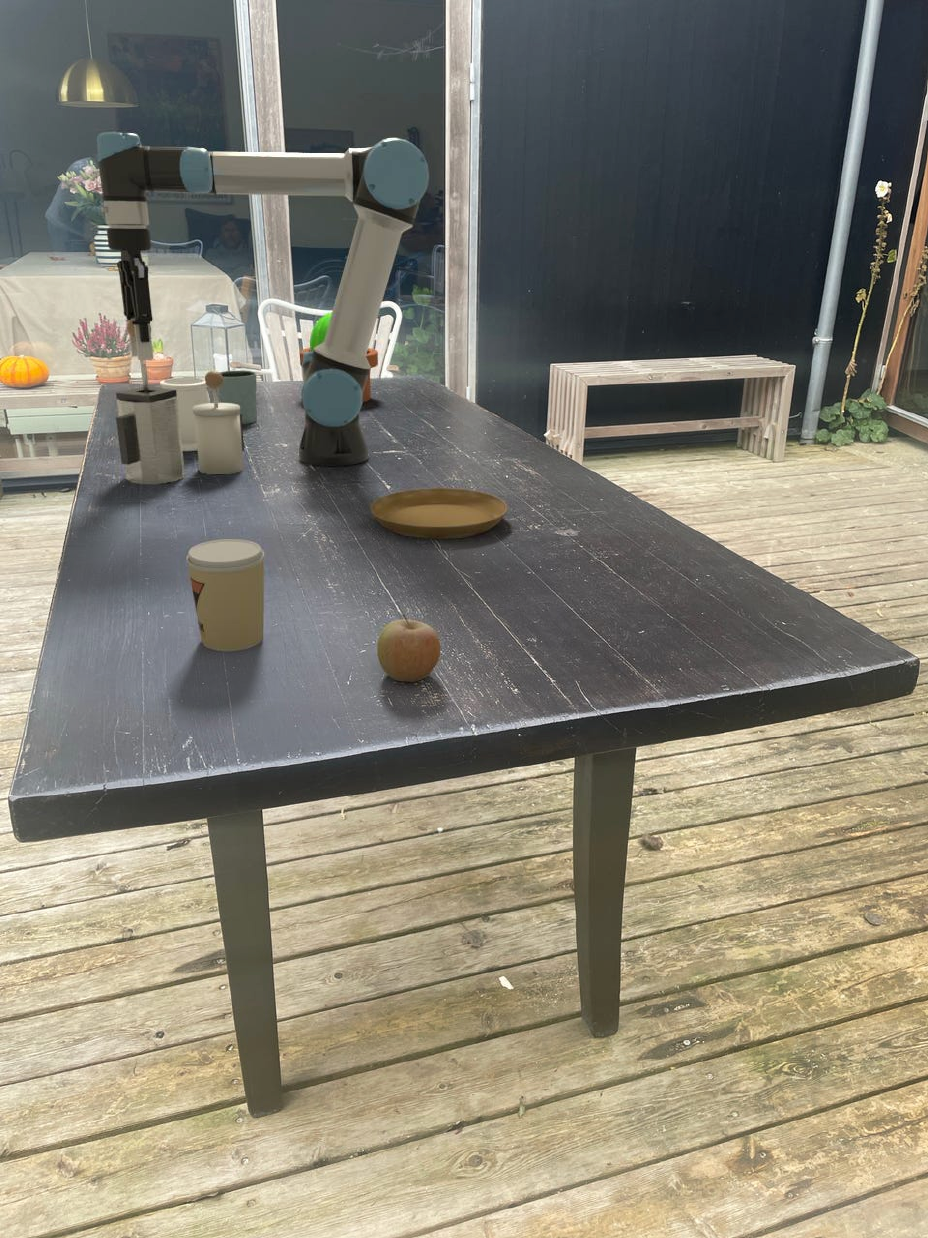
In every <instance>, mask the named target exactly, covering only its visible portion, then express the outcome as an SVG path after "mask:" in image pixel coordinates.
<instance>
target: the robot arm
mask: <svg viewBox="0 0 928 1238" xmlns="http://www.w3.org/2000/svg"><path fill="white" fill-rule="evenodd" d="M96 144H97V145H96V147H97V148H96V149H97V164H98V170H99V177H100V178H99V179H100V186H101V193H102V194H101V195H102V201H103V205H104V206H101V208H100V210H101V212H102V213H104V214H105V215H104V218H105V224H106V225H108V226H109V227H110V228H109V227H108V228H107V230H106V237H107V244H108V246H107V247H108V248H109V249H110V250H113V251H120V260H118V261H117V263H116V267H117V271H118V275H119V282H120V289H121V290H120V291H121V298H122V307H123V315H124V317H125V318H126V320H127V323H128V322H129V321H130V320H131V319H132V318H134V317H135V321H132V325H134V328H135V336H136V340H135V339H133V338H132V337H131V336H130V335H129V334H128V336H129V344H130V345H129V346H130V352H131V357H137V359H138V360H139V361H140V360H147V361H148V360H149V361H150V360H154V353H153V352H154V351H153V344H152V342H153V340H152V330H151V331H150V325H151V322H153V319H154V318H153V314H152V313H153V311H152V303H151V302H152V301H151V293H150V283H149V267H148V265H146V262H145V261H144V260H143V256H142V253H141V252H142V251H150V250H151V249H152V241H151V233H150V232H151V231H150V230H149V229H148V228H147V226H149V225H150V219H149V208H148V202H147V194H146V193H170V194H184V195H191V196H192V195H193V196H195V195H253V196H254V195H255V196H257V195H260V196H263V195H264V196H266V195H267V196H317V197H318V196H319V197H320V196H321V197H323V196H324V197H345V198H347V199H348V201H350V203H351V202H352V203H353V207H354V208H353V209H354V210H355V211H356V214H357V217H358V219H357V222H356V226H355V229H354V232H353V237H352V240H351V244H350V248H349V251H348V254H347V257H346V258H347V259H346V261H345V266H344V269H343V272H342V276H341V280H340V283H339V286H338V287H339V288H338V290H337V294H336V298H335V300H334V301H335V302H334V304H333V307H332V308H333V309H332V310H331V311H332V315H331V318H330V322H329V326H328V329H327V333H326V336H325V340H324V342H323V343H322V344H320V345H318V346H316V347H315V348H314V350H313V352H306V353H304V355H303V363H302V366H301V368H302V371H303V372H302V373H303V385H302V389H301V393H300V396H301V403H302V406H303V408H304V415H305V416H304V417H305V425H304V429H303V432H302V437H301V440H300V443H299V448H298V456H299V458H298V459H299V461H301V463H306V464H308V465H314V466H321V467H323V466H324V467H340V466H342V467H343V466H344V467H345V466H351V465H356V464H361V463H364V462H366V461H368V459H369V448H368V447H369V446H368V444H367V441H366V438H365V436H364V435H365V434H364V432H363V430H362V426H361V423H360V422H361V421H360V412H361V409H362V407H363V401H362V399H363V395H362V394H363V391H364V388H365V384H366V381H367V377H368V374H369V370H370V371H371V368H370V367H371V366H370V364H369V362H368V360H367V358H366V354H367V350H368V348H369V347H370V342H371V340H372V336H373V333H374V329H375V326H376V323H377V319H378V316H379V313H380V309H381V306H382V302H383V299H384V297H385V296H384V295H385V294H386V292H385V291H386V289H387V285H388V282H389V278H390V276H391V275H390V274H391V272H392V269H393V265H394V263H395V258H396V255H397V251H398V249H399V245H400V241H401V238H402V234H403V233H404V232H406V231H407V230H409V229H411V228H413V226H414V222H415V219H416V216H417V213H418V210H419V205H420V204H421V199H422V198H423V197H424V195H425V193H426V191H427V190H428V186H429V180H430V173H429V166H428V163H427V160H426V158H425V156H424V154H423V152H422V151H421V150H420V148H418V147H417V146H416V145H415V144H413V143H412V142H410V141H408V140H407V139H402V138H399V137H387V138H385V139H382V140H380V141H379V142H377V143H375V144H374V145H373V146H371V147H363V148H355V147H354V148H353V147H352V148H350V147H349V148H348V149H347V150H346V151H345V152H344V153H318V152H317V153H313V152H312V153H309V152H307V153H306V152H304V153H303V152H258V151H257V152H255V151H254V152H253V151H252V152H251V151H240V152H239V151H208V150H207V149H205V148H203V147H202V148H201V147H200V148H199V147H192V146H183V147H182V146H149V145H147V146H146V145H142V142H141V137H140V135H138V134H137V133H132V132H115V131H114V132H111V131H110V132H109V131H108V132H101V133H99V134H98V136H97V137H96Z"/></svg>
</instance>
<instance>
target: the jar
mask: <svg viewBox="0 0 928 1238" xmlns="http://www.w3.org/2000/svg"><path fill="white" fill-rule="evenodd" d="M207 387H208V386H207V385H206V383H205V378H200V377H199V378H198V377H176V378H169V379H164V380H162V381H160V388H163V389H173V390H176V393H177V401H178V411H179V421H180V431H181V441H182V451H183V452H198V449H197V439H196V428H195V418H194V414H193V407H194V406H196V405H200V404H207V403H211V400H210V395H209V392H208V389H207Z"/></svg>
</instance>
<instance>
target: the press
mask: <svg viewBox="0 0 928 1238" xmlns="http://www.w3.org/2000/svg"><path fill="white" fill-rule="evenodd" d="M148 387H149V393H144V390H143V386H140V387H135V388H131V389H125V390H121V391H118V392H115V396H116V407H117V413H118V416H116V417H115V421H116V429H117V437H118V445H119V453H120V461H121V464H122V465H124V469H125V477H126V481H129V482H130V483H132V484H139V485H160V484H161V483H163V484H168V483H167V482H170V483H175V482H177V481H180V480H183V479H184V478H185V476H186V474H185V473H186V472H185V463H184V462H185V461H184V455H183V454H184V451H182V441H181V431H180V421H179V411H178V401H177V393H176V390H173V389H163V388H162V387H154V386H153V387H151V386H148ZM184 475H185V476H184ZM182 478H183V479H182ZM179 479H180V480H179ZM176 480H177V481H176ZM174 481H175V482H174ZM161 485H162V484H161Z"/></svg>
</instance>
